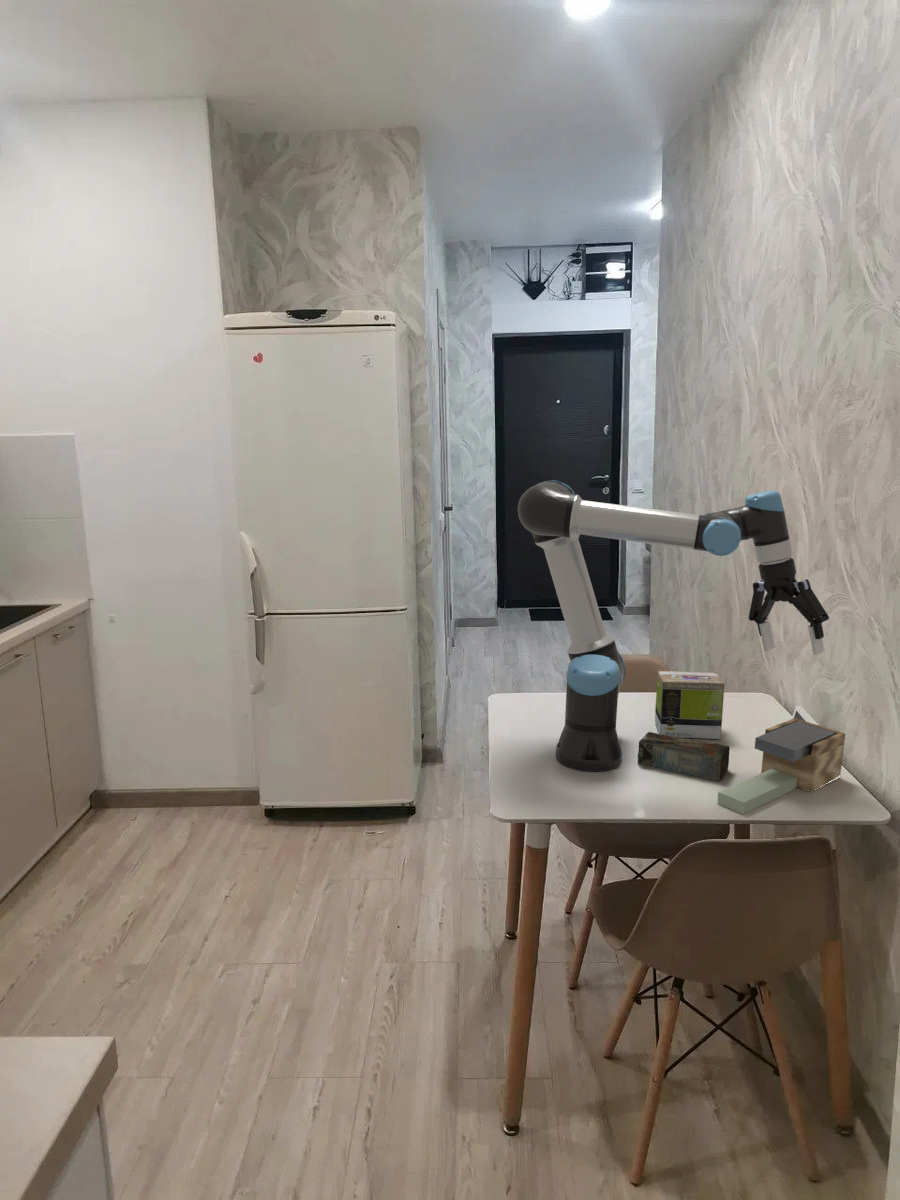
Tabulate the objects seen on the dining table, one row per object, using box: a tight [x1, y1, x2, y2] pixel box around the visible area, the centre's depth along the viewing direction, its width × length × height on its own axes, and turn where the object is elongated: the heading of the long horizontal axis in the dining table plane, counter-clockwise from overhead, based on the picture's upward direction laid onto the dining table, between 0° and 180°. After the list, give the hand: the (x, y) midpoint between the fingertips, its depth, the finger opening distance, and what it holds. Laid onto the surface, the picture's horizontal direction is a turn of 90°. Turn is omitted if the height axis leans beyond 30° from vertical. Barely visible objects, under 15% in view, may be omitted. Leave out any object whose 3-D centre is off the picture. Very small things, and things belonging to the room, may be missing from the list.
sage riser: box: [717, 769, 797, 815], centre depth 181 cm, size 20×6×2 cm, turn 129°
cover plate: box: [754, 721, 836, 762], centre depth 187 cm, size 17×9×2 cm, turn 129°
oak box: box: [760, 717, 846, 792], centre depth 191 cm, size 12×12×10 cm
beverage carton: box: [637, 731, 730, 782], centre depth 195 cm, size 8×19×7 cm, turn 61°
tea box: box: [654, 670, 725, 740], centre depth 216 cm, size 15×10×15 cm, turn 84°
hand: (793, 651), depth 195 cm, fingers open, 13 cm apart
